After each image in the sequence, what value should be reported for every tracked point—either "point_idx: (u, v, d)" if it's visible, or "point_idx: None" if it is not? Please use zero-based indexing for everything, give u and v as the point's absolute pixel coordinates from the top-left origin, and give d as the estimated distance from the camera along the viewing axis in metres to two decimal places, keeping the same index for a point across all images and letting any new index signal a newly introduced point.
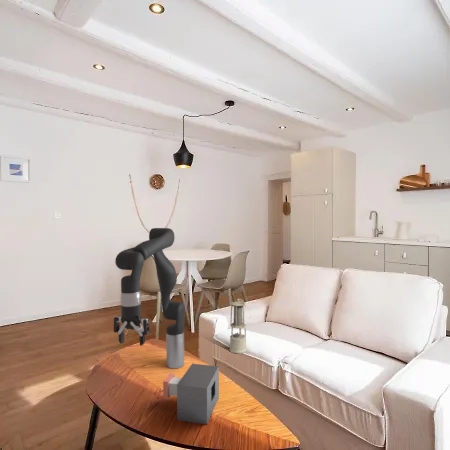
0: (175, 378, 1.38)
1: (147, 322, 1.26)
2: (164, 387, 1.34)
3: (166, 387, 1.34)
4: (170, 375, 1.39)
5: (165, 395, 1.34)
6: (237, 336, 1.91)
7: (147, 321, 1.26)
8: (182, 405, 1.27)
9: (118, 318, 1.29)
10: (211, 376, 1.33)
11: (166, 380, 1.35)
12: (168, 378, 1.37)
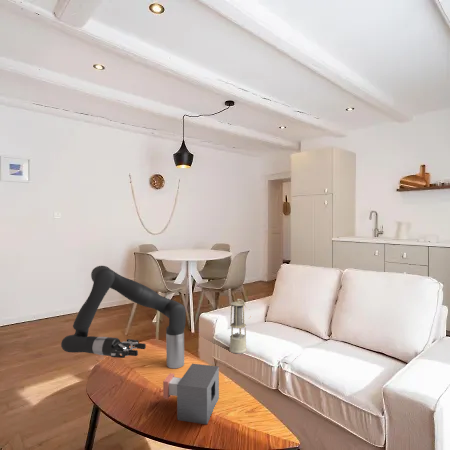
0: (175, 378, 1.38)
1: (113, 354, 1.35)
2: (164, 387, 1.34)
3: (166, 387, 1.34)
4: (170, 375, 1.39)
5: (165, 395, 1.34)
6: (237, 336, 1.91)
7: (113, 354, 1.35)
8: (182, 405, 1.27)
9: None
10: (211, 376, 1.33)
11: (166, 380, 1.35)
12: (168, 378, 1.37)
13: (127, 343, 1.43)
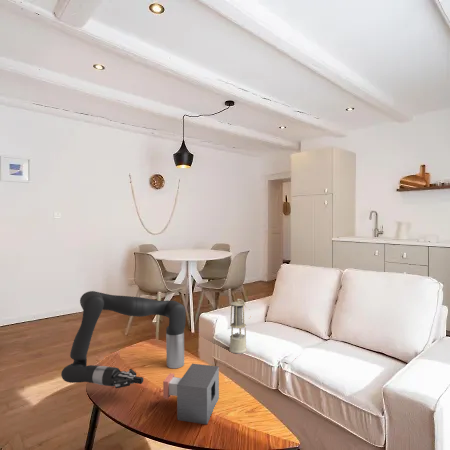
0: (175, 378, 1.38)
1: (119, 385, 1.36)
2: (164, 387, 1.34)
3: (166, 387, 1.34)
4: (170, 375, 1.39)
5: (165, 395, 1.34)
6: (237, 336, 1.91)
7: (118, 385, 1.36)
8: (182, 405, 1.27)
9: None
10: (211, 376, 1.33)
11: (166, 380, 1.35)
12: (168, 378, 1.37)
13: (125, 374, 1.42)
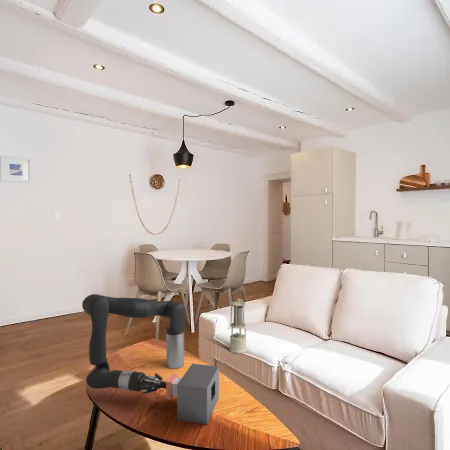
0: (178, 378, 1.38)
1: (146, 390, 1.34)
2: (167, 387, 1.34)
3: (169, 387, 1.34)
4: (173, 375, 1.39)
5: (168, 396, 1.34)
6: (237, 336, 1.91)
7: (145, 390, 1.34)
8: (182, 405, 1.27)
9: None
10: (211, 376, 1.33)
11: (169, 380, 1.35)
12: (170, 378, 1.36)
13: (152, 379, 1.40)
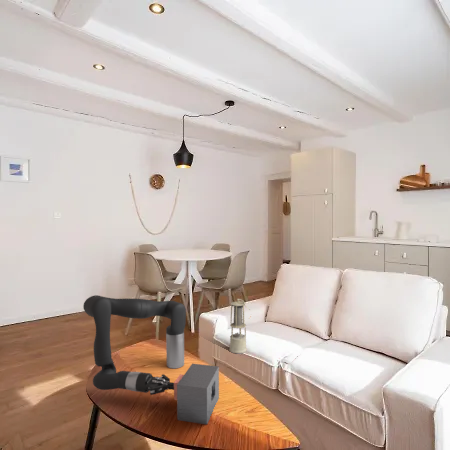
0: None
1: (154, 391, 1.33)
2: (175, 388, 1.33)
3: None
4: (180, 376, 1.38)
5: (176, 397, 1.33)
6: (237, 336, 1.91)
7: (153, 391, 1.33)
8: (182, 405, 1.27)
9: None
10: (211, 376, 1.33)
11: (177, 381, 1.34)
12: (178, 379, 1.36)
13: (159, 380, 1.39)
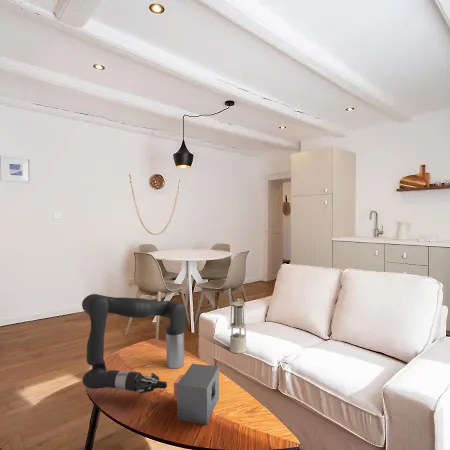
0: None
1: (143, 390, 1.34)
2: (175, 388, 1.33)
3: None
4: (180, 376, 1.38)
5: (176, 397, 1.33)
6: (237, 336, 1.91)
7: (142, 390, 1.34)
8: (182, 405, 1.27)
9: None
10: (211, 376, 1.33)
11: (177, 381, 1.34)
12: (178, 379, 1.36)
13: (148, 379, 1.40)
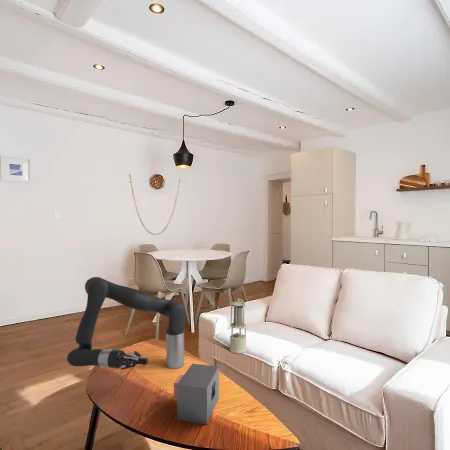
0: None
1: (124, 366, 1.38)
2: (175, 388, 1.33)
3: None
4: (180, 376, 1.38)
5: (176, 397, 1.33)
6: (237, 336, 1.91)
7: (123, 366, 1.38)
8: (182, 405, 1.27)
9: None
10: (211, 376, 1.33)
11: (177, 381, 1.34)
12: (178, 379, 1.36)
13: (130, 356, 1.44)
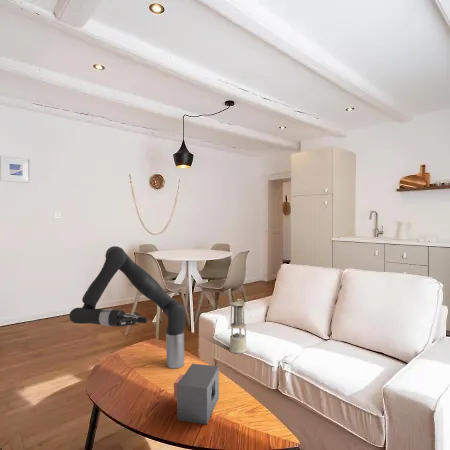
0: None
1: (124, 323, 1.44)
2: (175, 388, 1.33)
3: None
4: (180, 376, 1.38)
5: (176, 397, 1.33)
6: (237, 336, 1.91)
7: (123, 323, 1.44)
8: (182, 405, 1.27)
9: None
10: (211, 376, 1.33)
11: (177, 381, 1.34)
12: (178, 379, 1.36)
13: (130, 315, 1.50)
